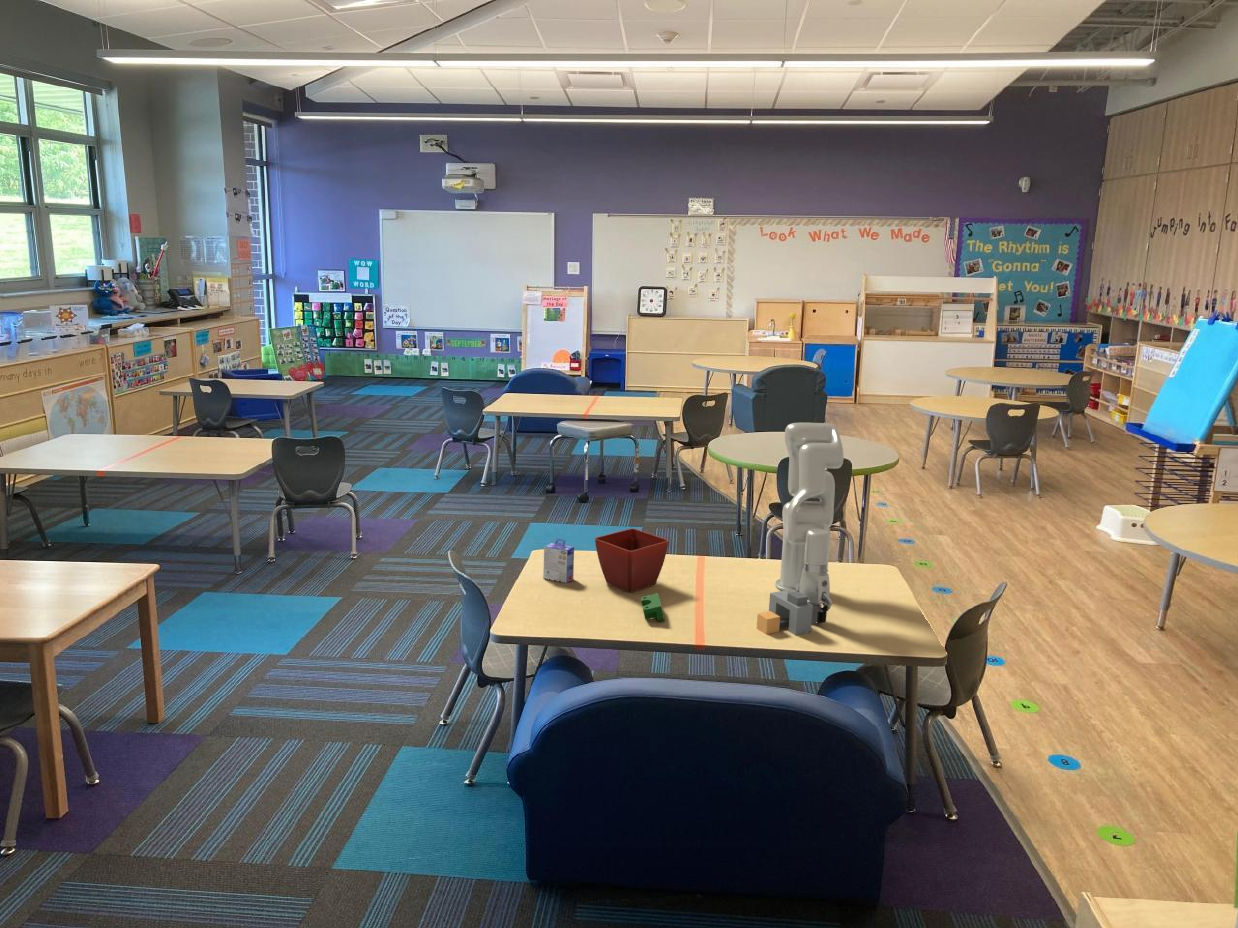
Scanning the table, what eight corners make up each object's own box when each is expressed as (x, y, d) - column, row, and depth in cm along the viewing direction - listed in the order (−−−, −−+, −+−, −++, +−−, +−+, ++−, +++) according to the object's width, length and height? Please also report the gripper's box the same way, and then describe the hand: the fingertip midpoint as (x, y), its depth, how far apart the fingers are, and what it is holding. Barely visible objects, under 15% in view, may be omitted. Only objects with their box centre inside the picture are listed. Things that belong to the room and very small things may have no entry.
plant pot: (592, 582, 331) (593, 537, 327) (631, 571, 343) (633, 527, 339) (628, 598, 317) (630, 551, 313) (668, 585, 329) (670, 540, 326)
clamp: (646, 624, 307) (640, 597, 308) (664, 620, 307) (658, 593, 308) (646, 624, 295) (639, 596, 296) (664, 620, 295) (658, 592, 296)
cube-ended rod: (811, 617, 305) (812, 599, 304) (821, 622, 301) (822, 605, 300) (756, 628, 295) (757, 610, 294) (766, 634, 291) (767, 616, 289)
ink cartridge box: (574, 578, 333) (575, 540, 330) (567, 583, 329) (567, 544, 325) (550, 574, 338) (550, 536, 334) (542, 578, 333) (543, 540, 329)
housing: (783, 616, 305) (785, 583, 303) (810, 631, 293) (813, 597, 291) (768, 618, 303) (770, 585, 300) (795, 635, 291) (798, 600, 288)
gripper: (842, 574, 292) (838, 624, 296) (807, 557, 307) (803, 606, 311) (824, 577, 289) (819, 628, 293) (789, 560, 304) (785, 609, 308)
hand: (811, 617), depth 302 cm, fingers open, 9 cm apart
